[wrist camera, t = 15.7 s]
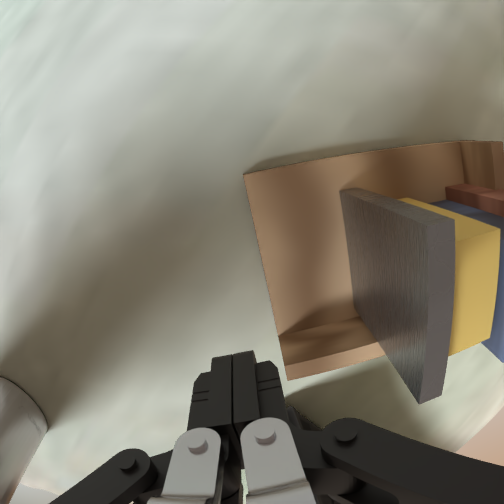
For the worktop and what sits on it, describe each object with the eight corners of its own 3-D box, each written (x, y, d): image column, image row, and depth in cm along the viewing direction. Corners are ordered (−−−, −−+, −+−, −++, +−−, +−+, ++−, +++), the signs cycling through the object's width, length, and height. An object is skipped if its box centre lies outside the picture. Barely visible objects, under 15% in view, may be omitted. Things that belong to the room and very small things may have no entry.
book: (368, 287, 21) (434, 362, 12) (359, 206, 19) (440, 246, 11) (412, 274, 21) (489, 337, 12) (407, 197, 19) (500, 228, 10)
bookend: (353, 307, 21) (419, 404, 12) (339, 190, 19) (426, 225, 9) (369, 303, 21) (441, 395, 11) (356, 187, 19) (454, 219, 9)
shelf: (278, 338, 23) (304, 463, 12) (242, 174, 20) (246, 195, 9) (469, 284, 23) (559, 349, 12) (463, 140, 19) (582, 148, 8)
